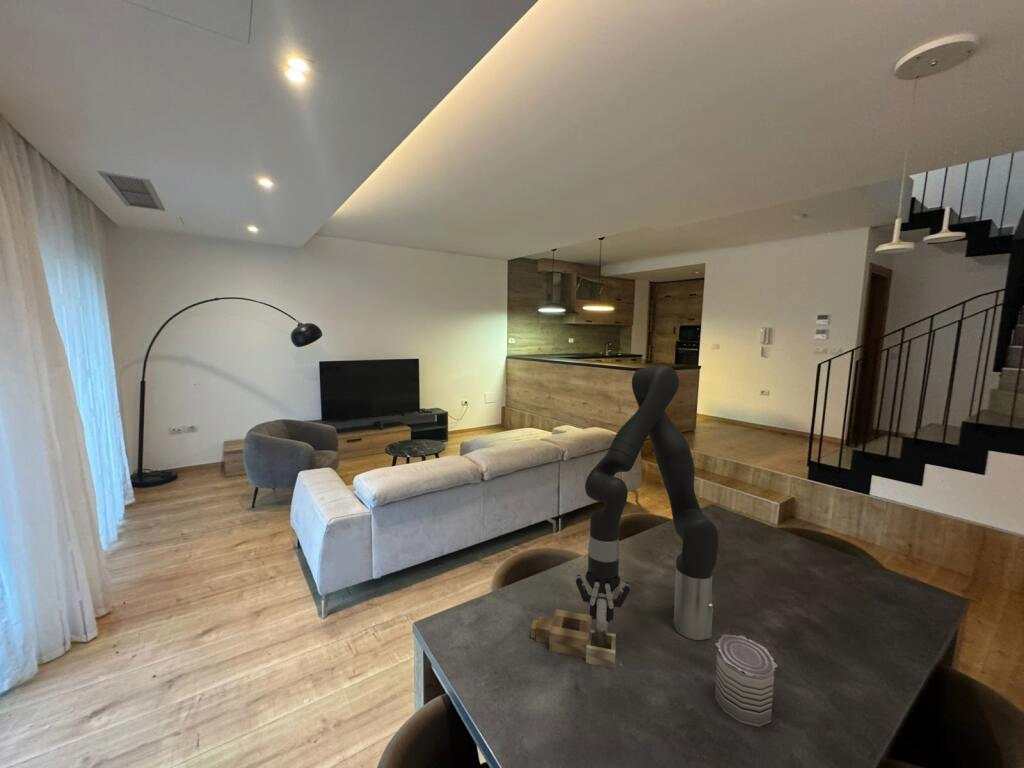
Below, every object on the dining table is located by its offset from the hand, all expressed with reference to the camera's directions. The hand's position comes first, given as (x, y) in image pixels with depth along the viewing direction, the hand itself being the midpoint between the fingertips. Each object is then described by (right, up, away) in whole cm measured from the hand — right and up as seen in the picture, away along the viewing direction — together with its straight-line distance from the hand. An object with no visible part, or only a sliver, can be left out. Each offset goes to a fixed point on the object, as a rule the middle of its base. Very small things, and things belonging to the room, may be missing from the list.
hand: (601, 618), depth 103 cm
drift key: (-13, -9, +7) cm, 17 cm away
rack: (0, -10, +1) cm, 10 cm away
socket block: (-9, -9, +6) cm, 14 cm away
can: (+28, -11, -13) cm, 33 cm away
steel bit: (0, -6, 0) cm, 6 cm away
